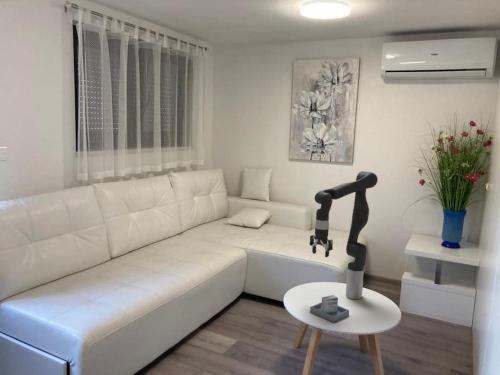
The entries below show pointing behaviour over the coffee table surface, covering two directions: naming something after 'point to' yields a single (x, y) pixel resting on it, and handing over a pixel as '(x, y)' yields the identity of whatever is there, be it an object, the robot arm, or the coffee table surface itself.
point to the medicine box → (329, 304)
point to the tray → (332, 317)
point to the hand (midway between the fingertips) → (320, 255)
